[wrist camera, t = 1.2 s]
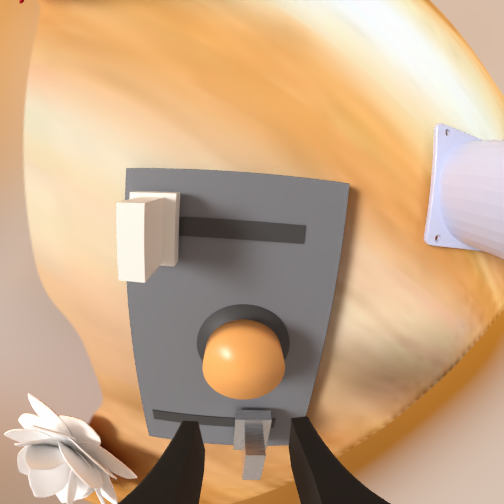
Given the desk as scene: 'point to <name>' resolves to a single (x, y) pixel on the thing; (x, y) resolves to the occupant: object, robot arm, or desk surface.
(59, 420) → the lotus flower
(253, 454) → the grey slider knob
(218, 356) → the push button
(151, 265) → the toggle lever
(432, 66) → the desk surface
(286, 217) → the panel
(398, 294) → the desk surface
